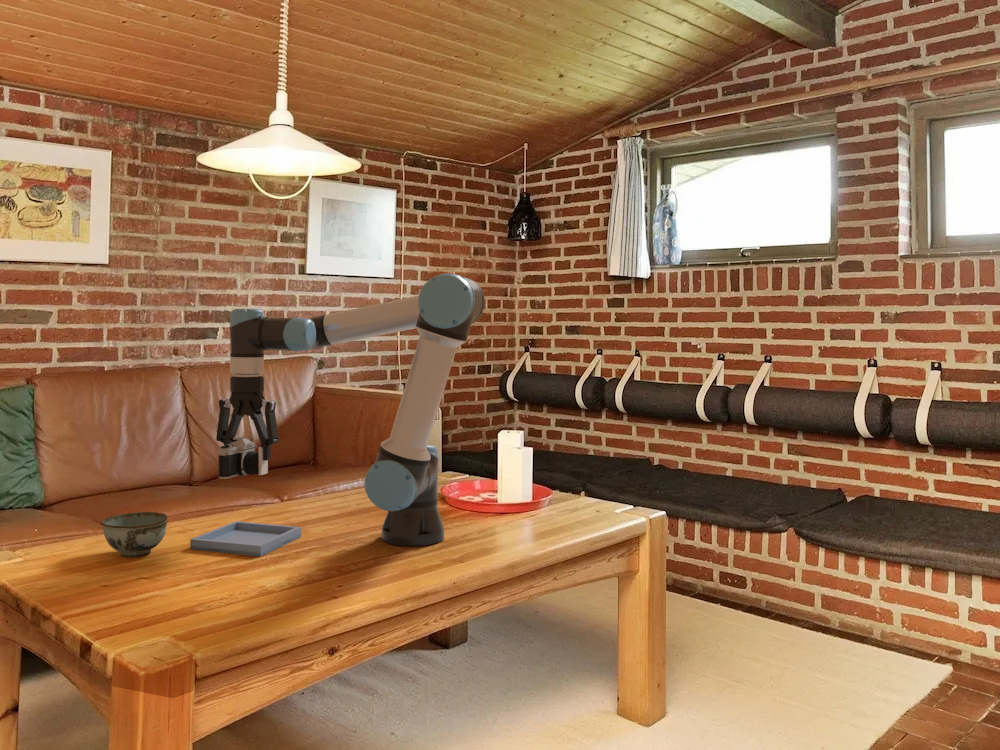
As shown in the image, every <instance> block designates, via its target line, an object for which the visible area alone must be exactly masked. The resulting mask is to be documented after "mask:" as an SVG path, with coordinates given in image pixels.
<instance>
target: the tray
mask: <svg viewBox="0 0 1000 750" xmlns="http://www.w3.org/2000/svg"><path fill="white" fill-rule="evenodd" d="M301 537H302V527H301V526H292V525H281V524H273V523H272V524H271V523H270V524H269V523H260V522H248V521H239V520H236V521H233V522H230V523H228V524H225V525H223V526H220V527H217V528H215V529H213V530H210V531H208V532H205V533H202V534H199V535H197V536H195V537H193V538H190V539H189V540H190V544H189V545H190V546H189V547H190V550H191V551H192V550H193V551H199V552H200V551H201V552H210V553H211V552H212V553H219V554H220V553H221V554H230V555H231V554H232V555H241V556H250V557H260V558H261V557H263V556H265V555H267V554H269V553H271V552H273V551H275V550H277V549H279V548H281V547H284V546H286V545H288V544H290V543H292V542H294V541H297V540H298V539H300V538H301Z"/></svg>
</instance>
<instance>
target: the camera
mask: <svg viewBox="0 0 1000 750" xmlns="http://www.w3.org/2000/svg"><path fill="white" fill-rule="evenodd" d="M257 448H258V446H257V444H255V442H254V441H252V439H251V438H246V437H245V438H244V437H242V436H237V437H236V436H235V438H233V441H232V443H231V444H225V446H224V445H221V446H220V447H219V448H218V479H222V480H223V479H224V480H226V479H227V480H228V479H232V478H234V477H238V476H243V477H244V476H251V475H259V452H256V449H257Z"/></svg>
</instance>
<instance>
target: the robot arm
mask: <svg viewBox="0 0 1000 750" xmlns="http://www.w3.org/2000/svg"><path fill="white" fill-rule="evenodd" d="M485 306H486V298H485V294H484V292H483V289H482V288H481V286H480V285H479V284H478V283H477V282H476V281H475V280H473V279H471V278H469V277H466V276H461V275H459V274H455V273H451V272H448V273H447V272H446V273H441V274H438V275H437V274H436V275H435V276H433V277H431V278H430V279H428V280H427V281H426V282H425V283H424V284H423V286H422V287H421V289H420V292H419V294H418V295H413V296H410V297H409V296H408V297H405V298H400V299H395V300H390V301H385V302H381V303H376V304H371V305H366V306H362V307H358V308H352V309H347V310H342V311H339V312H333V313H332V312H331V313H328V314H323V315H318V316H313V317H307V318H306V317H305V318H304V317H266V316H265V311H264V310H263V309H261V308H235V309H232V310H231V312H230V317H229V318H230V319H229V321H230V322H229V328H228V329H229V335H230V336H229V341H230V342H229V343H230V354H229V373H230V374H231V375H232V376H230V378H229V382H230V383H229V388H230V389H229V390H230V392H231V395H230V397H229V398H224V399H223V398H221V399H219V400H218V406H219V407H218V408H219V414H218V422H217V430H216V438H215V441H217V442H221V443H222V444H223V446H225V444H231V443H232V441H233V438H236V435H237V433H238V430H239V427H240V424H241V421H242V419H244V417H245V416H247V417H250V419H251V420H252V422H253V425H254V427H255V430H256V433H257V436H258V439H259V441H260V443H261V444H260V445H259V446H258V453H259V474H258V476H263V475H266V474H267V475H268V472H269V471H268V470H269V465H268V463H269V461H270V460H271V457H272V452H271V450H272V445H273V446H274V445H275V444H278V443H279V441H280V440H279V432H278V424H277V418H276V406H277V402H276V400H267V399H265V396H264V393H265V378H264V376H262V375H263V374H264V372H265V369H264V368H265V367H264V366H265V351H285V352H287V351H288V352H306V351H307V352H308V351H311V350H318V349H319V350H320V349H323V348H325V347H330V346H333V345H338V344H344V343H349V342H353V341H358V340H359V341H360V340H364V339H369V338H373V337H379V336H384V335H390V334H393V333H400V332H403V331H404V332H405V331H410V330H414V329H416V331H417V333H418V336H419V338H418V342H417V345H416V348H415V352H414V355H413V358H412V362H411V365H410V368H409V372H408V375H407V378H406V381H405V385H404V387H403V392H402V396H401V399H400V403H399V405H398V409H397V412H396V415H395V419H394V421H393V425H392V427H391V428H392V429H391V432H390V435H389V437H388V438H387V439H385V440H384V441H381V443H380V445H379V448H378V452H377V455H376V459H375V461H374V463H373V464H371V466H370V468H368V470H367V472H366V474H365V478H364V483H363V485H364V491H365V493H366V495H367V497H368V499H369V501H370V502H371V503H372V504H373V505H374V506H376V507H377V508H379V509H380V510H383V511H386V515H385V518H384V522H383V525H382V527H381V540H382V541H383V542H384V543H386V544H389V545H395V546H405V547H419V546H420V547H421V546H429V545H434V544H437V543H440V542H442V541H443V540H444V539H445V528H444V525H443V521H442V517H441V515H440V510H439V507H438V488H439V487H438V482H439V481H438V480H439V479H438V478H439V477H438V476H439V474H438V472H439V471H438V470H439V459H440V458H439V454H438V448H437V447H436V446H435V445H431V444H429V441H430V438H431V435H432V431H433V428H434V425H435V422H436V417H437V415H438V412H439V408H440V405H441V402H442V398H443V395H444V392H445V389H446V384H447V382H448V379H449V375H450V372H451V368H452V365H453V362H454V359H455V355H456V352H457V348H458V347H459V346H461V345H464V344H466V343H467V339H468V335H469V334H470V329H471V326H472V325H473V324H474V323H475V322H477V321H478V320H479V319H480V318H481V316H482V315H483V313H484V310H485ZM231 407H232V408H233V410H232V411H231ZM262 407H263V410H264V413H263V411H262ZM230 416H231V418H230ZM264 418H265V420H264Z"/></svg>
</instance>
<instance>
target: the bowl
mask: <svg viewBox="0 0 1000 750" xmlns="http://www.w3.org/2000/svg"><path fill="white" fill-rule="evenodd" d="M168 519H169V516H168V515H167V514H165V513H164V512H163V513H162V512H158V511H157V512H156V511H137V512H128V513H122V514H117V515H112V516H108V517H105V518H104V519H102V520H101V521H100V523H101V526H102V529H103V534H104V537H105V541H106V542H107V544H108V545H109V546H110V547H111V548H112V549H113V550H115V551H117V552H120V556H121V557H122V558H127V559H128V558H130V559H133V558H141V557H142V558H143V557H146V556H149V555H150V554H151V553H152V550H153V549H155V547H157V546H158V545H159V544H160V543H161V542H162V540H163V538H165V535H166V531H167V525H168Z"/></svg>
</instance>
